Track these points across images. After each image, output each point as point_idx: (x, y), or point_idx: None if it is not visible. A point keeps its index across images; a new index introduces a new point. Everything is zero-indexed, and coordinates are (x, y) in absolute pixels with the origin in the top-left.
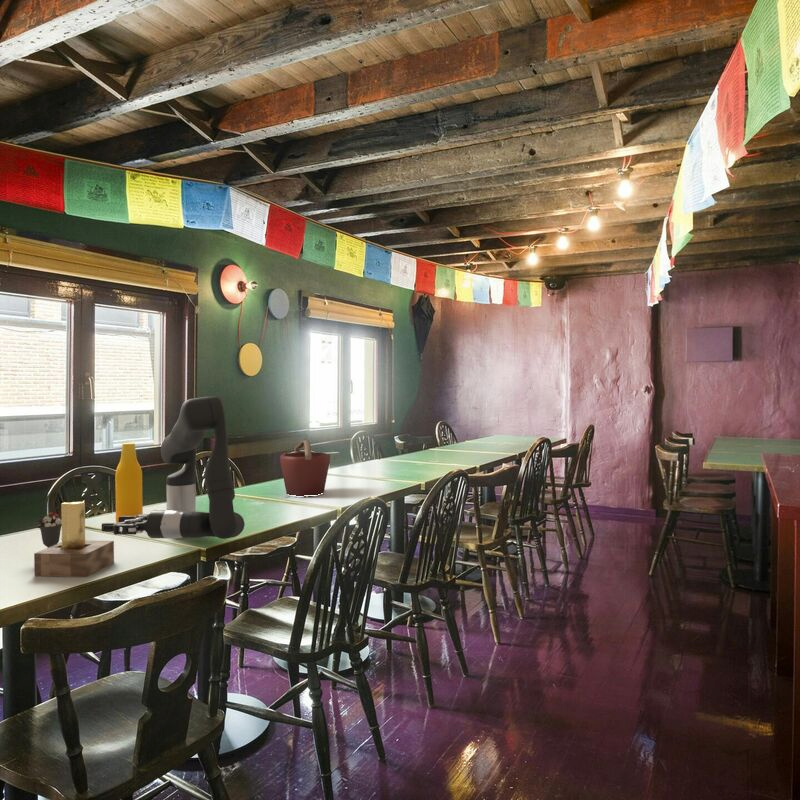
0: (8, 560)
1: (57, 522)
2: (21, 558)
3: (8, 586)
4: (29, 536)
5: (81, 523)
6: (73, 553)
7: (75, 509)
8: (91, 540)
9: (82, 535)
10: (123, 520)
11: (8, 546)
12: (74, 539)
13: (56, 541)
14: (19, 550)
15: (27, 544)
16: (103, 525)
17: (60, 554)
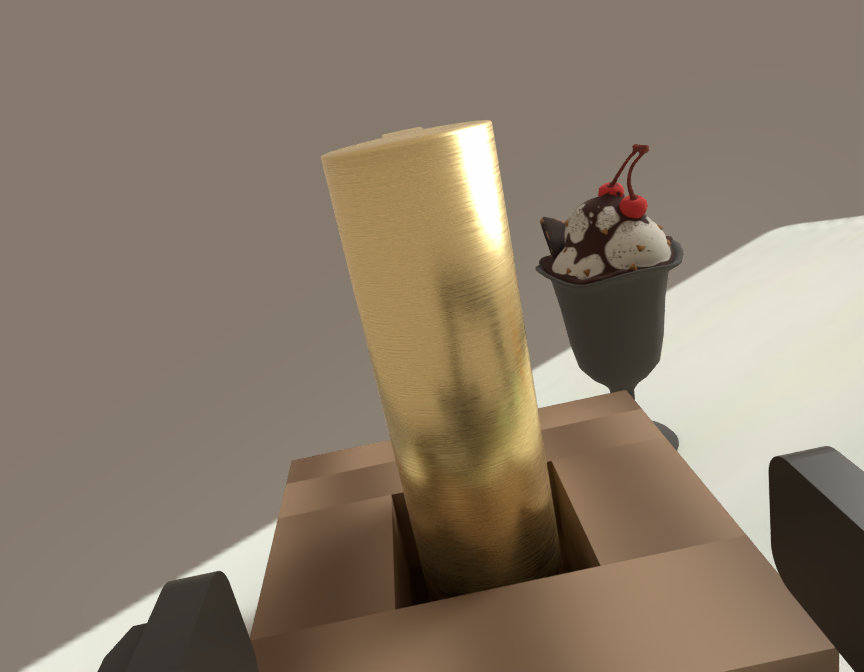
0: (544, 368)
1: (615, 254)
2: (585, 374)
3: (146, 603)
4: (828, 243)
5: (423, 366)
6: (260, 653)
7: (341, 212)
8: (705, 487)
9: (457, 478)
10: (827, 572)
11: (691, 280)
12: (406, 486)
13: (620, 367)
14: (672, 316)
15: (750, 288)
16: (114, 647)
17: (266, 580)
